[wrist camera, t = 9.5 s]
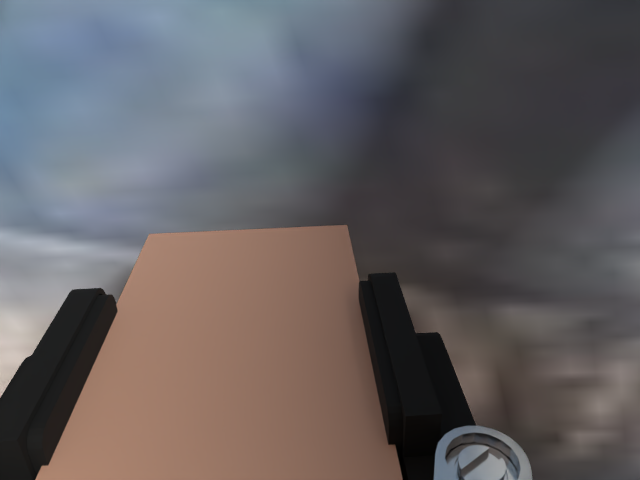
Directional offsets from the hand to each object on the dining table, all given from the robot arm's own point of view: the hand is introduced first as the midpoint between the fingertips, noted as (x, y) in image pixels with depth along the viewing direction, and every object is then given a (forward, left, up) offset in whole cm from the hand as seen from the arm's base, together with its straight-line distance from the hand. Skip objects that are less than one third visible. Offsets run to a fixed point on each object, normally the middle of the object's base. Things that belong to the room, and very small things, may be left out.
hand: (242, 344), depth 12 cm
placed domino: (0, 0, -3) cm, 4 cm away
